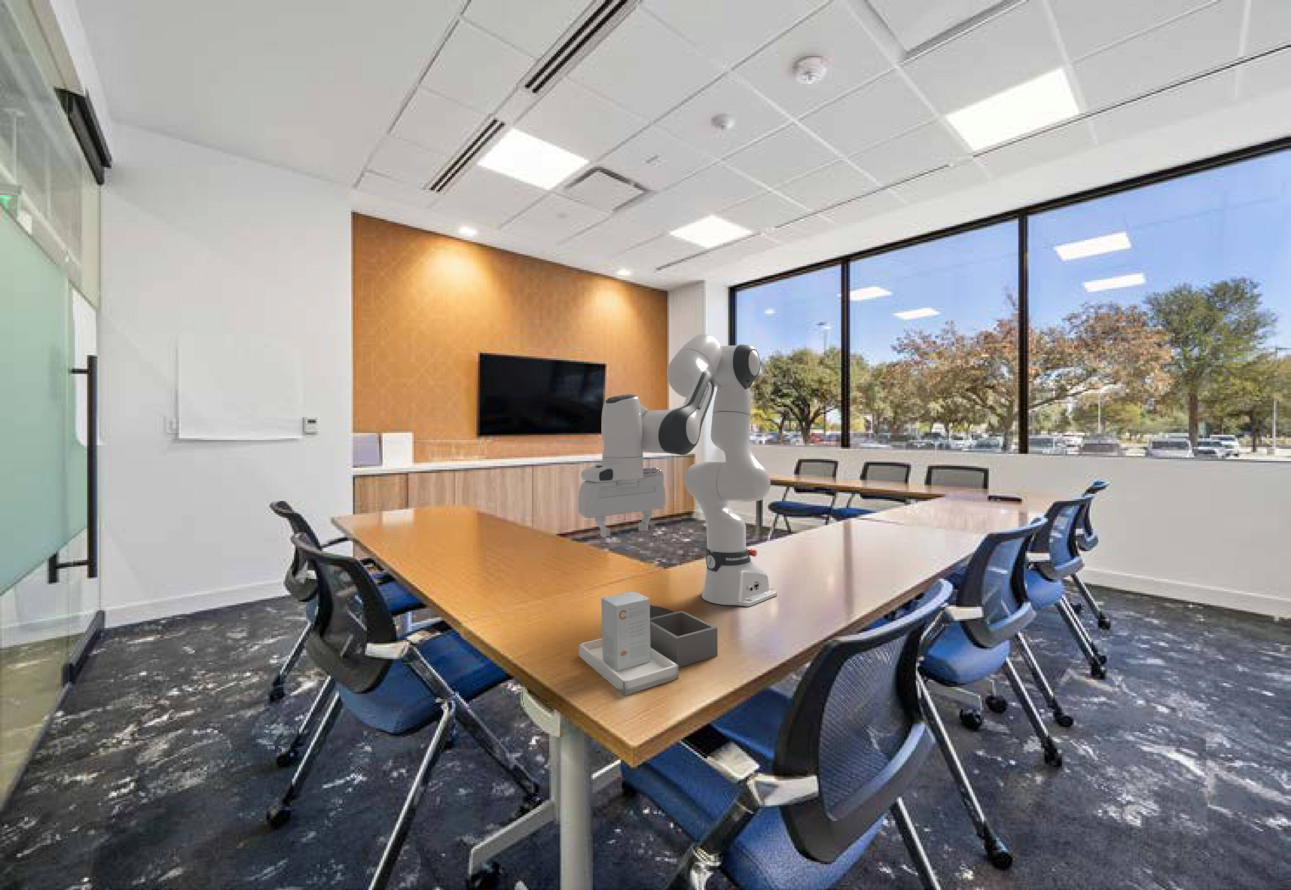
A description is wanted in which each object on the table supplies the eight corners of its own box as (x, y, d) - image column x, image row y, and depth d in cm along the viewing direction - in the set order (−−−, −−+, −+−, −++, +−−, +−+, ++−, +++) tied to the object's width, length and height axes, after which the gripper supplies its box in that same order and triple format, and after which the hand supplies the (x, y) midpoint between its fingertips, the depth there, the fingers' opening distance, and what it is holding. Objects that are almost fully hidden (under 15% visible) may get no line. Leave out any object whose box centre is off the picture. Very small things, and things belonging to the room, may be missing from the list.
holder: (682, 636, 119) (682, 610, 119) (717, 655, 108) (717, 627, 108) (644, 646, 114) (643, 619, 113) (677, 668, 103) (676, 638, 103)
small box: (635, 651, 109) (634, 590, 109) (651, 662, 103) (650, 598, 103) (601, 660, 104) (600, 597, 104) (616, 672, 99) (615, 605, 99)
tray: (627, 643, 116) (627, 632, 115) (678, 678, 99) (678, 665, 98) (578, 655, 109) (578, 644, 109) (624, 695, 92) (624, 682, 92)
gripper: (655, 466, 118) (656, 525, 119) (574, 472, 107) (576, 537, 108) (670, 467, 113) (672, 529, 113) (587, 474, 102) (589, 543, 102)
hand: (624, 533), depth 110 cm, fingers open, 8 cm apart
